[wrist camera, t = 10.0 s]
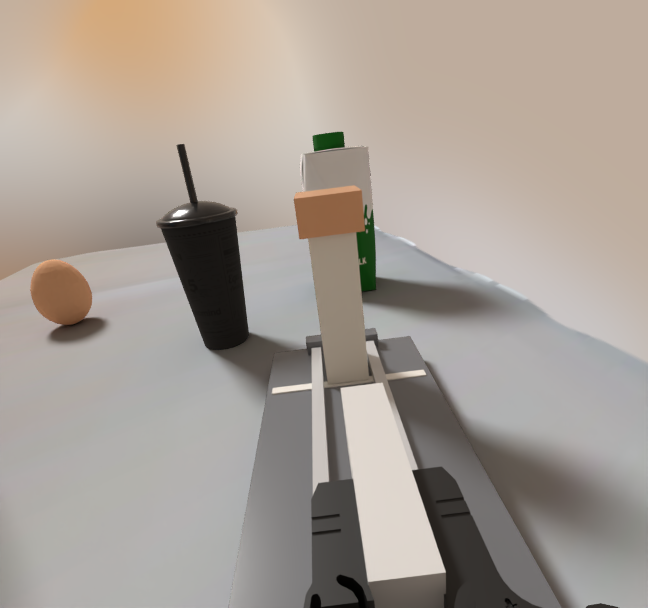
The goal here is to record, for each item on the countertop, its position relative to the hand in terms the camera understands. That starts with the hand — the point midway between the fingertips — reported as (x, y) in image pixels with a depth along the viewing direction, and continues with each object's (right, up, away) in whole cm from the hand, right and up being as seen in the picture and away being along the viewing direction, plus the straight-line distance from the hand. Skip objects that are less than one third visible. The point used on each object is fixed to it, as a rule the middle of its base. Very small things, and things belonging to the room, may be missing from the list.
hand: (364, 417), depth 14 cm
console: (+1, -5, +10) cm, 11 cm away
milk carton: (+2, +6, +40) cm, 41 cm away
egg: (-36, +1, +39) cm, 54 cm away
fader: (0, -1, +15) cm, 15 cm away
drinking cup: (-12, 0, +28) cm, 31 cm away
